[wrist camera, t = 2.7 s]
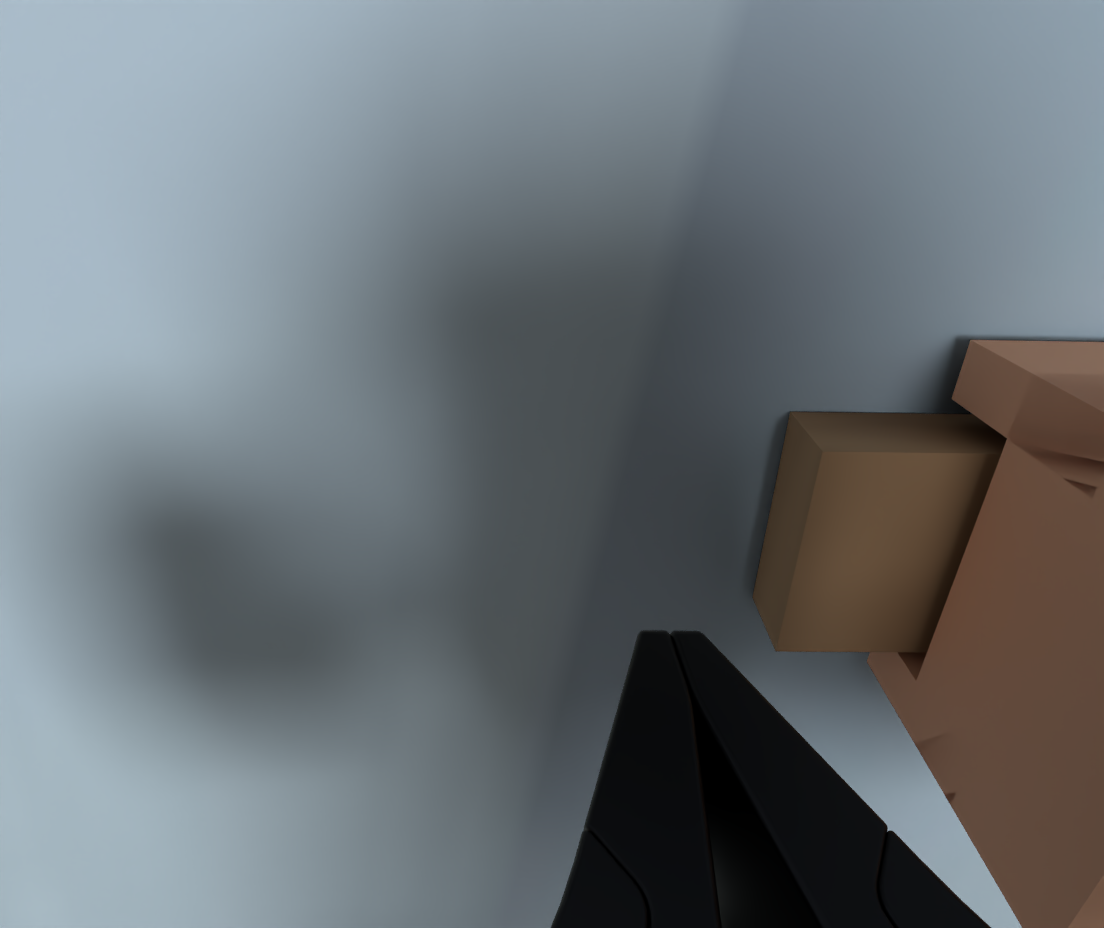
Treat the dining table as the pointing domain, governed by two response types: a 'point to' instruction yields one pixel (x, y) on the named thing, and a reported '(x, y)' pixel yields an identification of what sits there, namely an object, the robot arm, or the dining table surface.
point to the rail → (870, 527)
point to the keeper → (1025, 638)
